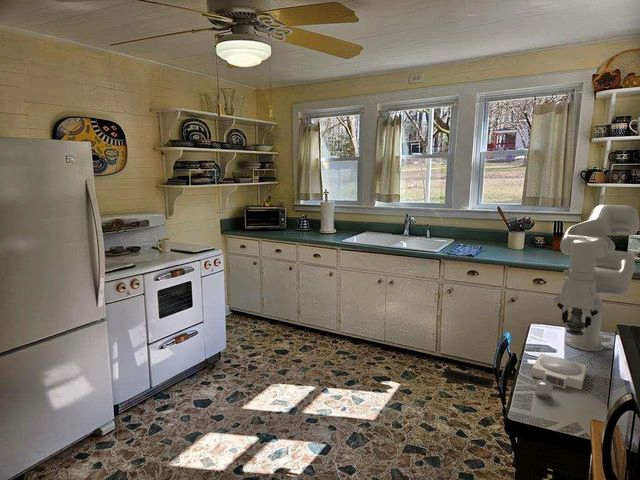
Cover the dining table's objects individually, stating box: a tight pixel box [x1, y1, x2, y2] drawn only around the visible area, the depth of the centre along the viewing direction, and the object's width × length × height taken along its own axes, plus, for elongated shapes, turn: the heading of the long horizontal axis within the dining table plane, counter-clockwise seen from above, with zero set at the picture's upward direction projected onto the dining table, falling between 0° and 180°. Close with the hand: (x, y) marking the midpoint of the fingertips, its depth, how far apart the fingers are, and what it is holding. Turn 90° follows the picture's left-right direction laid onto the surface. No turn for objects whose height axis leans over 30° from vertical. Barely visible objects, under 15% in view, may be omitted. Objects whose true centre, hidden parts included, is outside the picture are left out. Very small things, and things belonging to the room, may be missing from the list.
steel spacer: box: [534, 379, 554, 401], centre depth 121 cm, size 4×4×4 cm
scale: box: [531, 353, 588, 390], centre depth 134 cm, size 17×14×4 cm
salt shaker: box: [565, 307, 585, 335], centre depth 142 cm, size 6×6×12 cm
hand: (575, 324), depth 143 cm, fingers closed on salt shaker, 5 cm apart
